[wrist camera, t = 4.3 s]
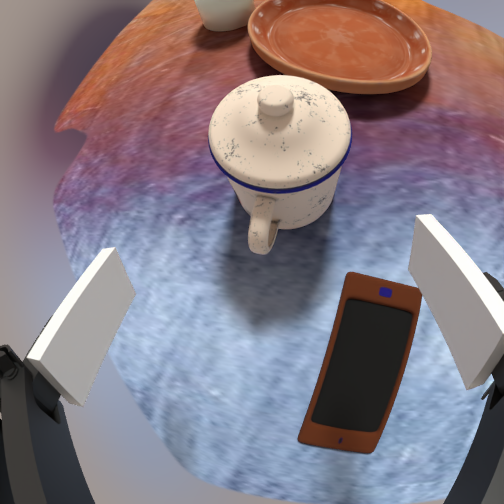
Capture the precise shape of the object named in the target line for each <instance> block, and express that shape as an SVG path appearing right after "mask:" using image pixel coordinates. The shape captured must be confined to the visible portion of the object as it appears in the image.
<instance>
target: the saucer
mask: <svg viewBox="0 0 504 504" xmlns="http://www.w3.org/2000/svg"><path fill="white" fill-rule="evenodd" d="M248 33H249V37H250V40H251V43H252V46H253V48H254V50H255V51H256V53H257V54H258V55H259V56H260V57H261V58H262V59H263V60H264V61H265V62H266V63H267V64H269V65H270V66H272V67H273V68H275V69H276V70H278V71H280V72H281V73H283V74H285V75H287V76H295V77H300V78H304V79H307V80H310V81H313V82H315V83H317V84H319V85H321V86H323V87H324V88H326V89H329V90H334V91H339V92H346V93H355V94H383V93H391V92H396V91H400V90H404V89H406V88H409V87H411V86H413V85H414V84H416V83H417V82H419V81H420V80H421V79H422V78H423V76H424V75H425V73H426V71H427V69H428V67H429V65H430V63H431V59H432V49H431V45H430V42H429V40H428V38H427V36H426V35H425V33H424V32H423V30H422V29H421V28H420V27H419V26H418V25H417V24H416V23H415V22H414V21H413V20H412V19H411V18H410V17H409V16H407V15H406V14H405V13H403V12H402V11H400V10H399V9H397V8H395V7H394V6H392V5H390V4H388V3H386V2H384V1H382V0H266V1H264V2H263V3H262V4H260V5H259V6H258V7H257V8H256V9H255V10H254V11H253V13H252V14H251V16H250V18H249V21H248Z"/></svg>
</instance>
